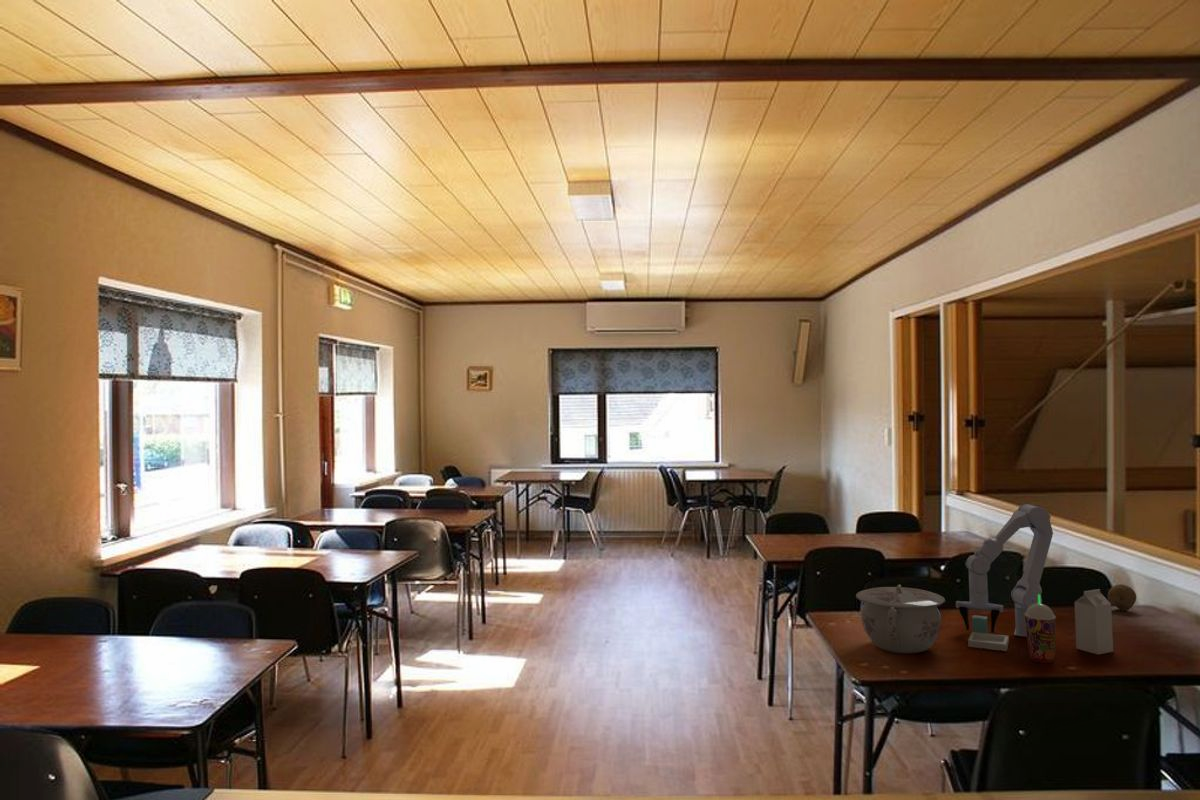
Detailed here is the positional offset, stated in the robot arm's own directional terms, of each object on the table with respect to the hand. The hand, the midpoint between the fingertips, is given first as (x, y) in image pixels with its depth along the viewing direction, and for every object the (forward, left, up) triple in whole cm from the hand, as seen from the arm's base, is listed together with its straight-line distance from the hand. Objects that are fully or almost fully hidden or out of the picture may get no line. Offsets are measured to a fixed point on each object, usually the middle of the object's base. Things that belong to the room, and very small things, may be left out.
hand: (980, 630), depth 265 cm
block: (0, 0, -2) cm, 2 cm away
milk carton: (-33, +4, -2) cm, 33 cm away
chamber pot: (+21, +27, -2) cm, 34 cm away
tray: (-4, +11, -1) cm, 12 cm away
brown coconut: (-43, -56, -2) cm, 71 cm away
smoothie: (-19, +22, -2) cm, 29 cm away
